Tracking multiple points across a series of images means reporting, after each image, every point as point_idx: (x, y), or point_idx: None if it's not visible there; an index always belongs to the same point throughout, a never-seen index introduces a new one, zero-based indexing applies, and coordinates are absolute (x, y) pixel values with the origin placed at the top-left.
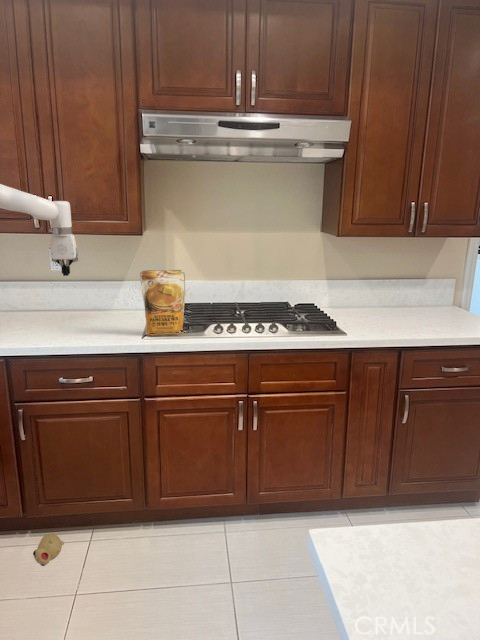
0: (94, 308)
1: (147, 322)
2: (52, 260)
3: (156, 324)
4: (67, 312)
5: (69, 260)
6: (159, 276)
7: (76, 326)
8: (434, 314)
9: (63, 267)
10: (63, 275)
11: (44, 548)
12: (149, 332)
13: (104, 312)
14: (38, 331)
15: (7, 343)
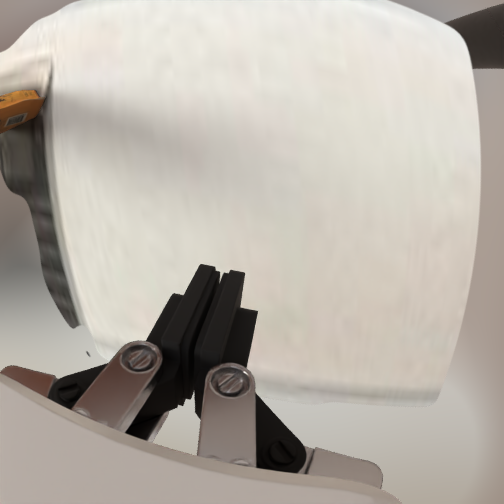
0: None
1: (13, 102)
2: (368, 473)
3: (1, 96)
4: (300, 373)
5: (82, 411)
6: None
7: (260, 225)
8: None
9: (208, 338)
10: (242, 273)
11: None
12: (32, 97)
13: None
14: (390, 192)
15: (469, 79)
